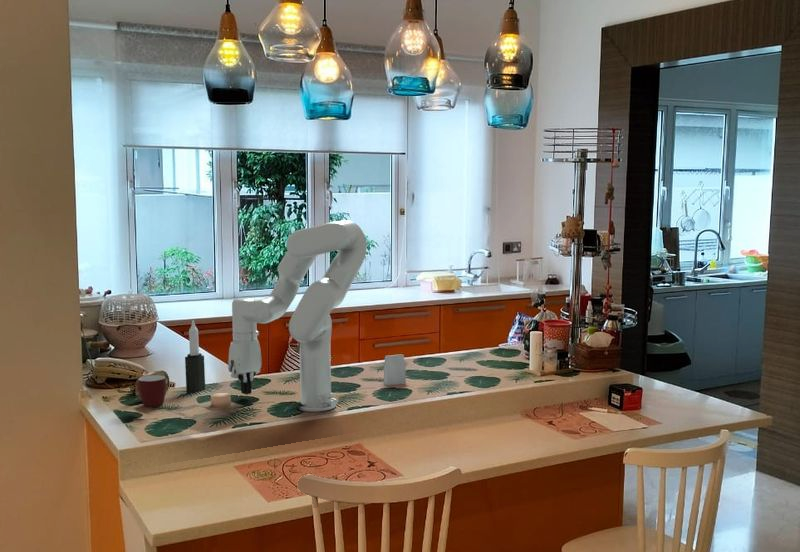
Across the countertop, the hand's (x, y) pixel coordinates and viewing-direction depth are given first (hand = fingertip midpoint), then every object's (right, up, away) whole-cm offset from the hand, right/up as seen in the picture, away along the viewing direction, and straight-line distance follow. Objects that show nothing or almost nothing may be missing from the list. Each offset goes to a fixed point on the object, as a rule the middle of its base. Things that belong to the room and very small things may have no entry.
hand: (246, 393), depth 251 cm
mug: (-28, -4, -5) cm, 29 cm away
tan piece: (-10, -4, -11) cm, 15 cm away
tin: (-32, -3, +8) cm, 34 cm away
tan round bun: (-6, -3, -7) cm, 10 cm away
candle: (-19, -2, +12) cm, 23 cm away
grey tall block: (+47, 0, +24) cm, 53 cm away
